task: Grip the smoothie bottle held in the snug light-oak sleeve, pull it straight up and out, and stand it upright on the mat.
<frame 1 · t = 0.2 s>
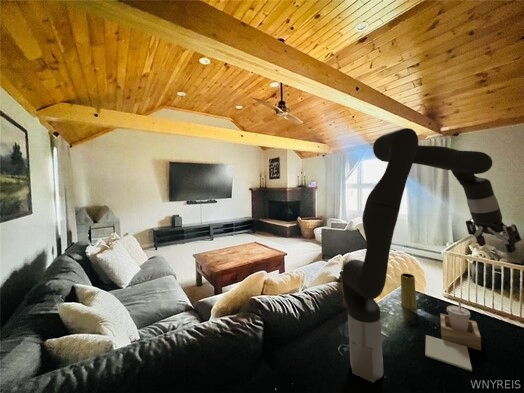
hand: (496, 248, 79), 31 cm above the table, tool tilted 20°, fingers open, 8 cm apart
vase: (408, 306, 100), on the table
smoothie: (459, 337, 79), resting in sleeve
sleeve: (459, 336, 79), on the table
mat: (446, 352, 72), on the table
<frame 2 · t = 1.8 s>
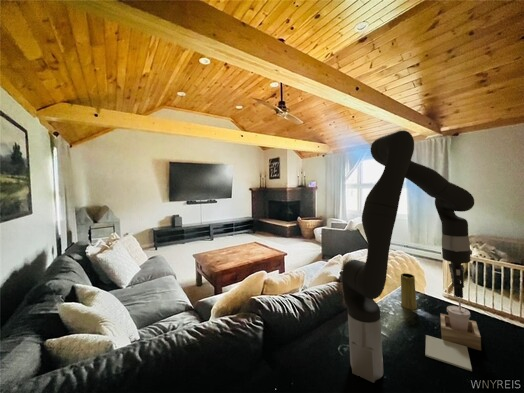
hand: (457, 291, 78), 16 cm above the table, tool pointing down, fingers open, 8 cm apart
nothing on the table moved.
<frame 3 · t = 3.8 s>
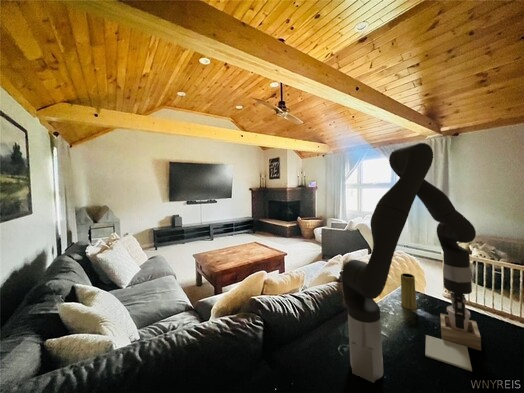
hand: (458, 322, 79), 5 cm above the table, tool pointing down, fingers closed on smoothie, 6 cm apart
smoothie: (459, 337, 79), resting in sleeve, touching gripper
everything else where it was.
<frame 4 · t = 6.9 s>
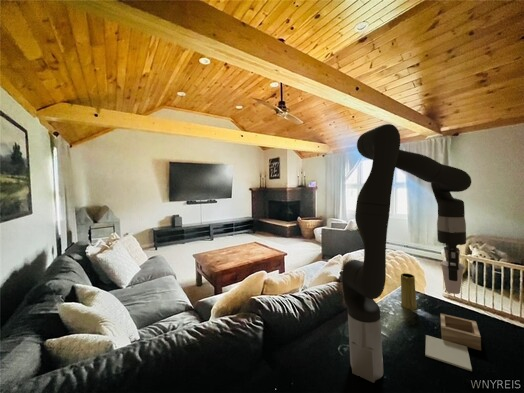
hand: (452, 276, 76), 23 cm above the table, tool pointing down, fingers closed on smoothie, 6 cm apart
smoothie: (452, 291, 76), point 17 cm above the table, touching gripper
everything else where it was.
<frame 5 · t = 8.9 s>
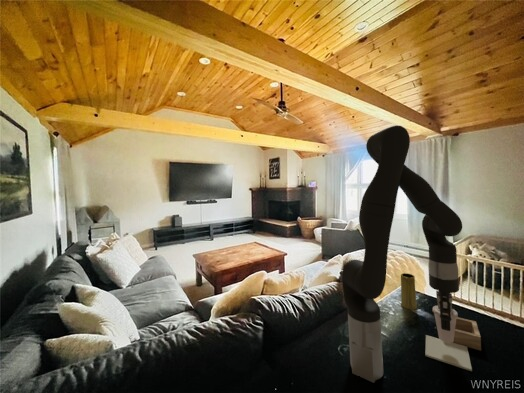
hand: (445, 323, 72), 10 cm above the table, tool pointing down, fingers closed on smoothie, 6 cm apart
smoothie: (446, 339, 72), point 4 cm above the table, touching gripper
everything else where it was.
when the fingers open (7 cm above the table, at t = 10.3 s): smoothie drops 1 cm, resting on mat.
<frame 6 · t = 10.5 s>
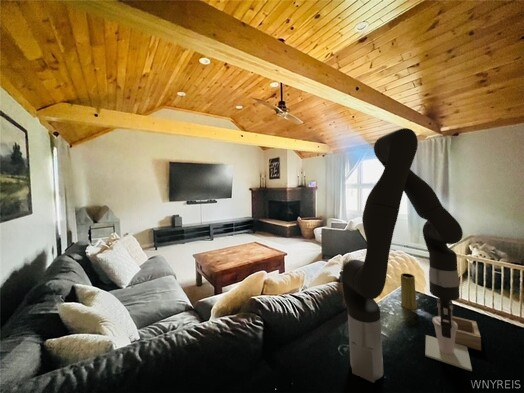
hand: (445, 329, 72), 8 cm above the table, tool pointing down, fingers open, 8 cm apart
smoothie: (446, 350, 72), resting on mat
everything else where it was.
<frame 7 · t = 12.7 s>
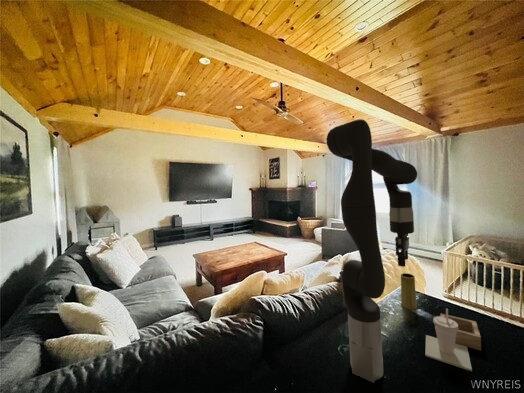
hand: (403, 262, 82), 27 cm above the table, tool pointing down, fingers open, 8 cm apart
nothing on the table moved.
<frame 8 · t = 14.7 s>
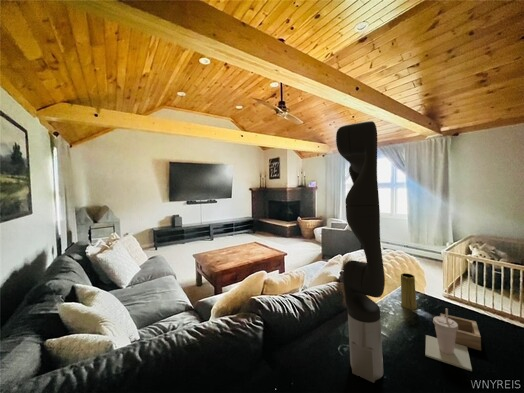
hand: (366, 246, 94), 30 cm above the table, tool pointing down, fingers open, 8 cm apart
nothing on the table moved.
at the end: smoothie inside the target area on the mat (0.1 cm from its centre), point 0.4 cm above the mat's base; smoothie tilted 0°; the gripper is holding nothing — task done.
